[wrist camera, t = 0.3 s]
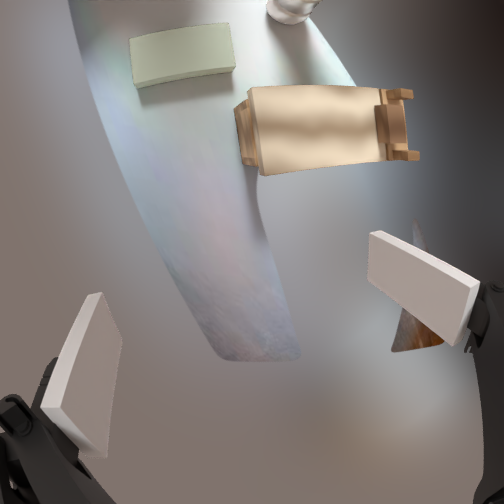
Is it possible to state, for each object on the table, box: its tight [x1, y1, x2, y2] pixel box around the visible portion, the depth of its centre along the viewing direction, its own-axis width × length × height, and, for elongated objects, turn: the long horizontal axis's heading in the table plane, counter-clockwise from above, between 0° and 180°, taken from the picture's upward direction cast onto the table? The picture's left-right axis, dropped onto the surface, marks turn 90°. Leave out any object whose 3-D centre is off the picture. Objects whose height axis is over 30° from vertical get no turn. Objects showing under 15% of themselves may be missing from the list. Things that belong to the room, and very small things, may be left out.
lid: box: [247, 85, 387, 176], centre depth 30 cm, size 10×17×2 cm, turn 99°
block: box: [374, 104, 407, 144], centre depth 30 cm, size 5×3×2 cm, turn 9°
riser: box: [129, 23, 236, 89], centre depth 29 cm, size 7×13×3 cm, turn 99°
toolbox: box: [234, 88, 420, 167], centre depth 32 cm, size 10×22×12 cm, turn 99°
